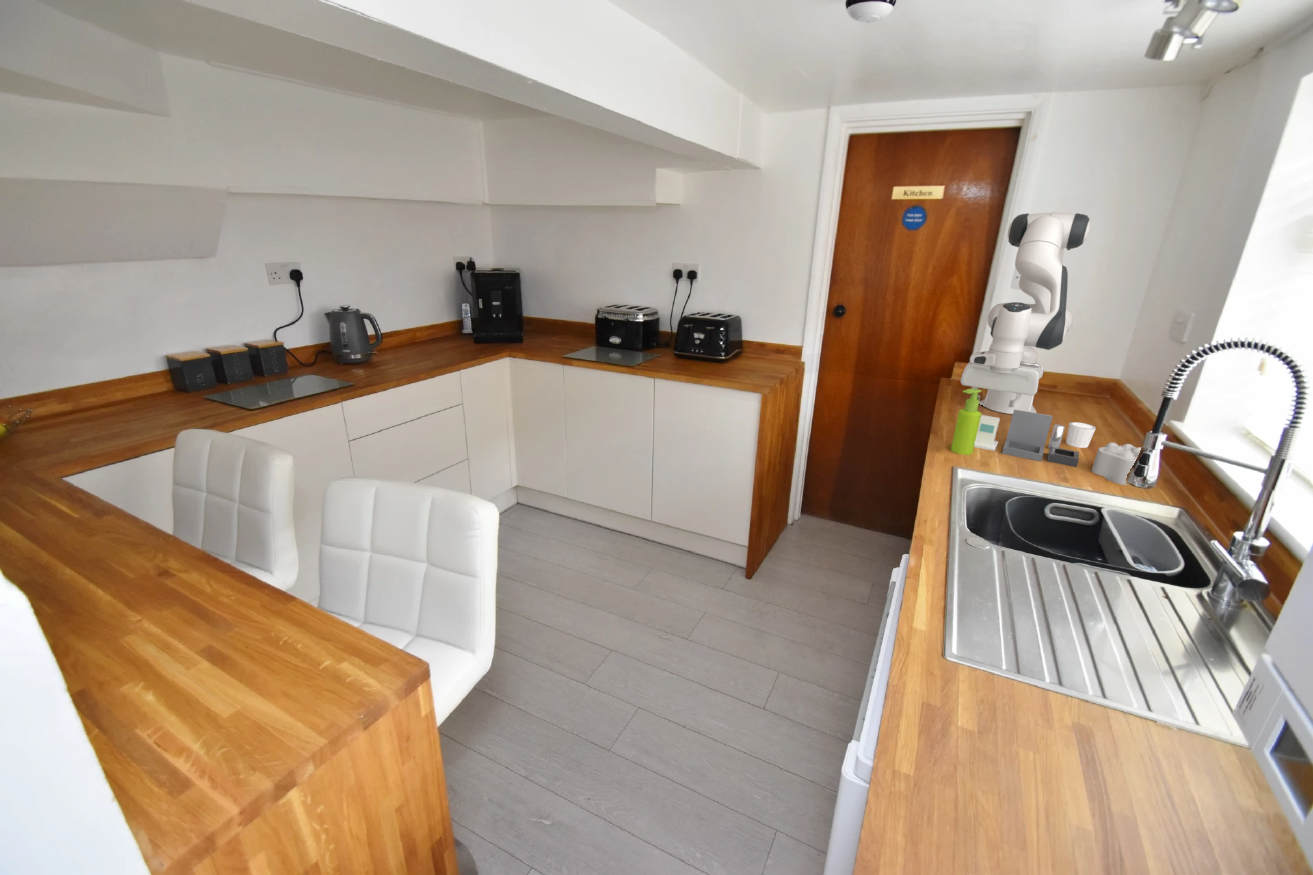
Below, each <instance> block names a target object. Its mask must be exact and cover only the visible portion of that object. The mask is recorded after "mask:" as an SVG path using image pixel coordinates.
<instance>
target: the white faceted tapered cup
mask: <svg viewBox="0 0 1313 875" xmlns="http://www.w3.org/2000/svg"><path fill="white" fill-rule="evenodd" d="M1096 428H1097V427H1096V426H1095V425H1092V424H1089V423H1084V422H1079V421H1076V422H1075V421H1074V422H1073V421H1072V422H1069V424H1068V428H1067V429H1068V430H1067V433H1066V434H1067V436H1066V441H1065V443H1066V445H1069V446H1071V447H1074V448H1080V449H1082V448H1083V449H1085V448H1086V449H1087V448H1088V447H1089V445H1090V443H1091V440H1092V438H1093V436H1094V434H1095V431H1096Z"/></svg>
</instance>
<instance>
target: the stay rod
mask: <svg viewBox="0 0 1313 875" xmlns="http://www.w3.org/2000/svg"><path fill="white" fill-rule="evenodd" d="M1065 429H1066V426H1065V425H1062V424H1057V423H1056V424H1054V425H1053V428H1052V432H1051V435H1050V439H1049V441H1048V446H1047V449H1049V450H1050V447H1056V448H1060V446H1061V442H1062V438H1063V435H1064V433H1065Z"/></svg>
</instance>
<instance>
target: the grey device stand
mask: <svg viewBox="0 0 1313 875" xmlns="http://www.w3.org/2000/svg"><path fill="white" fill-rule="evenodd" d="M1053 417H1054V416H1053V415H1049V414H1045V413H1044V414H1043V413H1038V412H1036V413H1033V412H1027V411H1021V410H1015V409H1014V412H1013V414H1012V416H1011V420H1010V424H1009V428H1008V432H1007V436H1006V440H1005V441H1004V445H1003V449H1002V452H1001V454H1002V455H1008V456H1013V457H1017V458H1021V459H1026V460H1031V461H1036V462H1042V460H1043V456H1044V452H1045V451H1044V450H1045V445H1046V442H1047V438H1048V435H1049V431H1050V429H1051V428H1050V427H1051V423H1052V421H1053Z"/></svg>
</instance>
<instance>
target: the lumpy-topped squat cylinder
mask: <svg viewBox="0 0 1313 875" xmlns="http://www.w3.org/2000/svg"><path fill="white" fill-rule="evenodd" d="M1141 448H1142V447H1140V446H1139V447H1138V446H1137V447H1136V446H1134V445H1133V444H1130V443H1126V444H1123V445H1118V444H1117V443H1116V442H1114V441H1113V442H1109V443H1107V444H1106V445H1105V446H1102V447H1101V446H1100V447H1099V448H1097V453H1096V454H1095V458H1094V461H1093V464H1092V468H1091V472H1092V473H1093V474H1096V475H1098V476H1101V477H1104V479H1105V480H1107V481H1109V482H1112V483H1114V484H1117V485H1122V486H1128V485H1127V484H1126V478H1127V474H1128V473H1129V472H1130V469H1131V468H1132V466H1133V465H1134V463H1135V461H1136V459H1137V457H1138V455H1139V453H1140V450H1141Z"/></svg>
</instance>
